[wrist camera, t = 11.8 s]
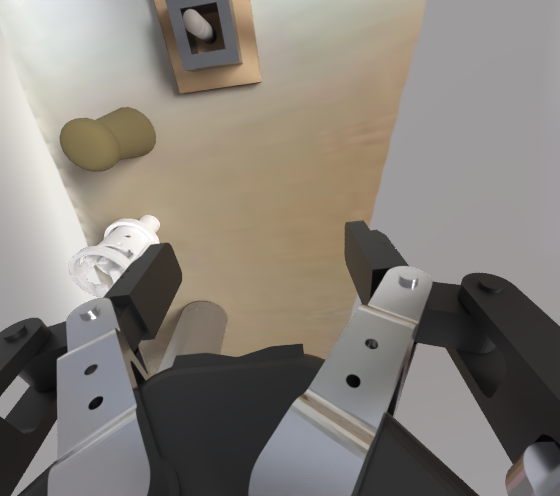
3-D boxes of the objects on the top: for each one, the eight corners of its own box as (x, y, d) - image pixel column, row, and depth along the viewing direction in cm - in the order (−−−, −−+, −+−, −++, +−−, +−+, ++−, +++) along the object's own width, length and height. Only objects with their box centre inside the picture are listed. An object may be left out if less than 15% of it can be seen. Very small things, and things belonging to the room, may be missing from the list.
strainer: (135, 243, 44) (79, 306, 31) (120, 204, 40) (48, 258, 28) (177, 241, 44) (137, 304, 31) (165, 202, 40) (114, 255, 27)
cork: (123, 159, 37) (71, 184, 27) (99, 113, 34) (32, 122, 24) (163, 150, 36) (124, 172, 27) (142, 102, 33) (91, 108, 24)
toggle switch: (261, 81, 32) (257, 80, 25) (182, 93, 33) (157, 94, 26) (246, -32, 27) (236, -74, 20) (152, -17, 27) (111, -52, 20)
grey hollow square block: (231, -6, 27) (225, -18, 24) (243, 63, 30) (239, 61, 27) (175, 4, 27) (163, -7, 24) (193, 72, 31) (184, 70, 28)
